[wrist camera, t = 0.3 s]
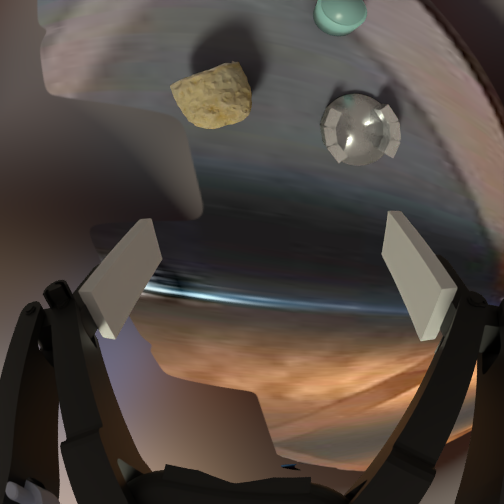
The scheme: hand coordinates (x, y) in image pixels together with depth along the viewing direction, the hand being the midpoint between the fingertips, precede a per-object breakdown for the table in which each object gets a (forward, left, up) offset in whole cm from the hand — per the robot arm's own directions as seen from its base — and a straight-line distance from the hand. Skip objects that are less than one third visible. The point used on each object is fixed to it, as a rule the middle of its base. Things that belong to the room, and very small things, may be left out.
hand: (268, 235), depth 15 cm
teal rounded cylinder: (-18, +12, -27) cm, 34 cm away
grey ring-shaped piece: (-1, +12, -27) cm, 29 cm away
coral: (-9, -6, -27) cm, 29 cm away
